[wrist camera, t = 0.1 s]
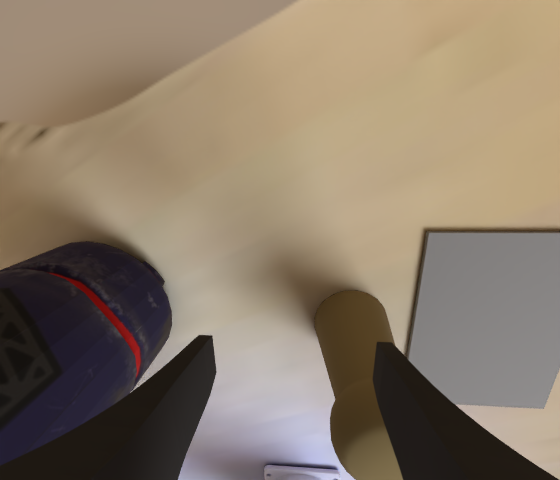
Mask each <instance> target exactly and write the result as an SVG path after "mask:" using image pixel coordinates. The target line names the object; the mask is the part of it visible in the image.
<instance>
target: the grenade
mask: <svg viewBox="0 0 560 480" xmlns="http://www.w3.org/2000/svg"><path fill="white" fill-rule="evenodd" d="M164 282H165V281H164V280H163V279H162V277H161V276H160V275H159V274H158V272H157V271H156V270H155V269H154V268H152V267H151V266H150V265H149V264H148V263H146V262H144V263H141V262H140V261H138V260H137V259H136V258H134V257H132V256H131V255H129V254H127V253H125V252H124V251H122V250H120V249H117V248H114V247H111V246H108V245H106V244H101V243H94V242H87V241H86V242H75V243H69V244H66V245H64V246H61V247H58V248H55V249H53V250H50V251H48V252H45V253H43V254H40V255H38V256H35V257H33V258H30V259H28V260H25V261H23V262H20V263H18V264H15V265H13V266H10V267H8V268H5V269H3V270H0V465H3V464H5V463H7V462H9V461H11V460H13V459H15V458H17V457H20V456H22V455H24V454H26V453H28V452H30V451H32V450H34V449H36V448H38V447H41V446H42V445H44V444H46V443H48V442H50V441H52V440H54V439H56V438H58V437H60V436H62V435H63V434H65V433H67V432H69V431H71V430H73V429H74V428H76V427H78V426H80V425H81V424H83V423H85V422H87V421H88V420H90V419H91V418H93V417H95V416H96V415H98V414H99V413H101V412H103V411H104V410H106V409H108V408H109V407H111V406H112V405H114V404H115V403H117V402H118V401H120V400H121V399H123V398H124V397H125V396H127V395H128V394H129V393H130V392H131V391H132V390H133V389H134V387H135V386H136V384H137V383H138V381H139V380H140V379H141V377H142V376H143V374H144V373H145V372H146V370H147V369H148V367H149V366H150V364H151V363H152V362H153V360H154V359H155V357H156V356H157V355H158V353H159V352H160V350H161V349H162V347H163V346H164V344H165V342H166V341H167V339H168V337H169V334H170V330H171V326H172V311H171V307H170V304H169V300H168V297H167V295H166V293H165V291H164V289H163V287H162V286H163V284H164Z"/></svg>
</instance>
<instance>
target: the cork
mask: <svg viewBox="0 0 560 480" xmlns="http://www.w3.org/2000/svg"><path fill="white" fill-rule="evenodd" d="M314 319H315V330H316V333H317V337H318V340H319V344H320V347H321V351H322V354H323V358H324V361H325V365H326V368H327V372H328V375H329V379H330V382H331V386H332V389H333V392H334V396H335V399H336V400H335V402H334V404H333V407H332V410H331V416H330V431H331V441H332V444H333V447H334V450H335V453H336V455H337V457H338V459H339V461H340V463H341V464H342V465H343V467H344V468H345V470H346V471H347V472H348V473H349V474H350V475H351V476H352V477H353V478H354V479H356V480H403V478H402V475H401V471H400V468H399V465H398V462H397V459H396V456H395V453H394V450H393V447H392V445H391V442H390V439H389V436H388V433H387V430H386V427H385V424H384V421H383V418H382V415H381V412H380V409H379V406H378V403H377V398H376V394H375V389H374V385H373V380H372V379H373V370H374V362H375V353H376V344H377V342H392V343H393V344H394V345H395V343H394V339H393V336H392V332H391V329H390V325H389V321H388V318H387V315H386V312H385V309H384V307H383V305H382V304H381V303H380V302H379V301H378V299H376V298H375V297H373V296H371V295H370V294H368V293H364V292H360V291H343V292H339V293H336V294H333V295H332V296H330V297H329V298H327V299H326V300H324V301H323V303H322V304H321V305H320V306H319V308H318V309H317V312H316V315H315V318H314Z"/></svg>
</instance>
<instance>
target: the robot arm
mask: <svg viewBox="0 0 560 480" xmlns="http://www.w3.org/2000/svg"><path fill="white" fill-rule="evenodd" d="M215 375H216V364H215V356H214V347H213V338H212V336H209V335H199V336H197V337H196V338H195V339H194V340H193V341H192V342H191V343H190V344H189V345H187V346H186V347H185V348H184V349H183V350H182V351H181V352H180V353H179V354H178V355H176V356H175V357H174V358H173V359H172V360H171V361H170V362H169V363H167V364H166V365H165V366H164V367H163V368H162V369H160V370H159V371H158V372H157V373H155V374H154V375H153V376H152V377H151V378H149V379H148V380H147V381H146V382H144V383H143V384H142V385H141V386H139V387H138V388H137V389H135V390H134V391H133V392H131V393H130V394H128V395H127V396H125V397H124V398H123V399H121V400H120V401H118V402H117V403H115V404H114V405H112V406H111V407H109V408H108V409H106V410H104V411H103V412H101V413H99V414H98V415H96V416H95V417H93V418H91V419H90V420H88V421H87V422H85V423H83V424H81V425H80V426H78V427H76V428H74V429H73V430H71V431H69V432H67V433H65V434H63V435H62V436H60V437H58V438H56V439H54V440H52V441H50V442H48V443H46V444H44V445H42V446H41V447H38V448H36V449H34V450H32V451H30V452H28V453H26V454H24V455H22V456H20V457H17V458H15V459H13V460H11V461H9V462H7V463H5V464H3V465H0V480H178V477H179V474H180V470H181V467H182V464H183V461H184V459H185V456H186V453H187V451H188V448H189V446H190V443H191V441H192V438H193V436H194V433H195V431H196V429H197V426H198V424H199V421H200V419H201V416H202V414H203V411H204V409H205V406H206V404H207V402H208V399H209V396H210V393H211V390H212V386H213V383H214V379H215ZM372 380H373V385H374V389H375V394H376V398H377V403H378V406H379V409H380V412H381V415H382V418H383V421H384V424H385V427H386V430H387V433H388V436H389V439H390V442H391V445H392V447H393V450H394V453H395V456H396V459H397V462H398V465H399V468H400V471H401V475H402V478H403V480H559V479H557V478H555V477H554V476H552V475H551V474H549V473H548V472H546V471H544V470H543V469H541V468H540V467H538V466H537V465H535V464H534V463H532V462H531V461H529V460H528V459H526V458H525V457H523V456H522V455H520V454H519V453H517V452H516V451H514V450H513V449H512V448H510V447H509V446H507V445H506V444H505V443H503V442H502V441H500V440H499V439H498V438H496V437H495V436H494V435H492V434H491V433H490V432H488V431H487V430H486V429H484V428H483V427H482V426H480V425H479V424H478V423H477V422H475V421H474V420H473V419H472V418H470V417H469V416H468V415H467V414H465V413H464V412H463V411H462V410H461V409H459V408H458V407H457V406H456V405H455V404H453V403H452V402H451V401H450V400H449V399H448V398H447V397H446V396H445V395H443V394H442V393H441V392H440V391H439V390H438V389H437V388H436V387H435V386H434V385H433V384H432V383H431V382H430V381H429V380H428V379H427V378H426V377H425V376H424V375H423V374H421V373H420V371H419V370H418V369H417V368H416V367H415V366H414V365H413V364H412V363H411V362H410V361H409V360H408V359H407V358H406V357H405V356H404V355H403V354H402V353H401V352H400V351H399V350H398V348H397V347H396V346H395V345H394V344H393V343H392V342H377V344H376V353H375V362H374V370H373V379H372ZM264 479H265V480H340V472H339V471H338V470H332V469H318V468H304V467H290V466H276V465H266V466H265V468H264Z"/></svg>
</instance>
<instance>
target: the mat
mask: <svg viewBox="0 0 560 480" xmlns="http://www.w3.org/2000/svg"><path fill="white" fill-rule="evenodd" d="M407 359H408V360H409V361H410V362H411V363H412V364H413V365H414V366H415V367H416V368H417V369H418V370H419V371H420V373H421V374H423V375H424V376H425V377H426V378H427V379H428V380H429V381H430V382H431V383H432V384H433V385H434V386H435V387H436V388H437V389H438V390H439V391H440V392H441V393H442V394H443V395H445V396H446V397H447V398H448V399H449V400H450V401H451V402H452V403H453V404H458V405H478V406H498V407H518V408H538V409H544V407H545V405H546V402H547V399H548V397H549V394H550V392H551V389H552V387H553V384H554V381H555V379H556V376H557V374H558V371H559V368H560V232H526V231H427V232H426V238H425V244H424V251H423V257H422V263H421V270H420V276H419V282H418V289H417V295H416V301H415V307H414V314H413V320H412V326H411V333H410V339H409V345H408V352H407Z"/></svg>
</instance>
